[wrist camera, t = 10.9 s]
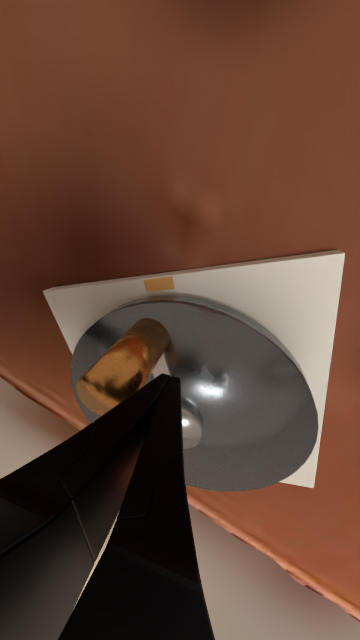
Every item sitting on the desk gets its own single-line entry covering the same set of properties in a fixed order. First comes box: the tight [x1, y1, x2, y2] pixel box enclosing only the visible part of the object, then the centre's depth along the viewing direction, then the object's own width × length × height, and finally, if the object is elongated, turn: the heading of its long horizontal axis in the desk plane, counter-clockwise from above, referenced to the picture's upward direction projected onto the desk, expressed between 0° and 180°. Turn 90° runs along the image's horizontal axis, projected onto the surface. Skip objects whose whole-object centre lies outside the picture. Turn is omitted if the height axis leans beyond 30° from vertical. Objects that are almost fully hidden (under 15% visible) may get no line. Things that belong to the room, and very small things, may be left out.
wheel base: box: [43, 250, 345, 488], centre depth 18 cm, size 20×20×2 cm
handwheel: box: [71, 295, 318, 491], centre depth 14 cm, size 18×18×6 cm
